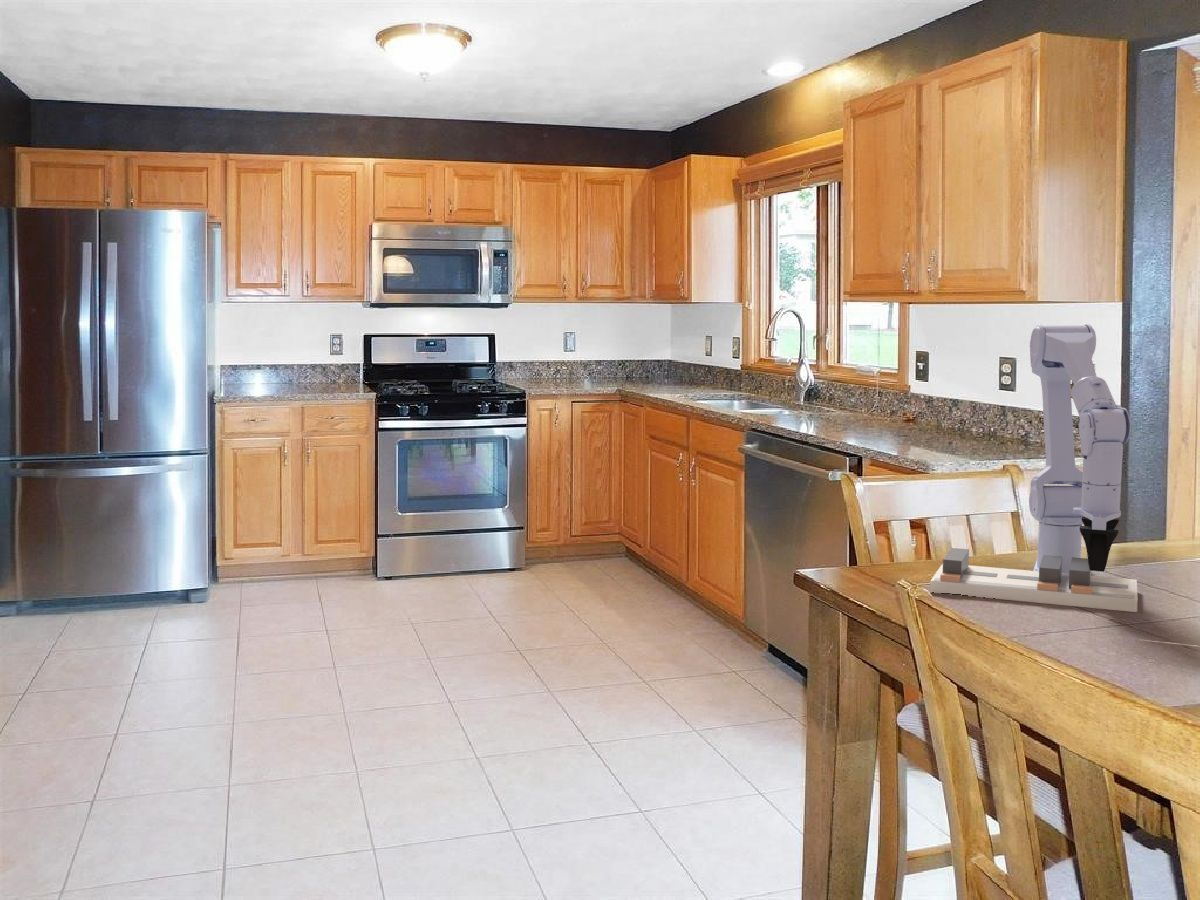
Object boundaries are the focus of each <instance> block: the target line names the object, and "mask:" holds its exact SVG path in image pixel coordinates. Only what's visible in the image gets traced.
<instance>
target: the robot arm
mask: <svg viewBox="0 0 1200 900" xmlns="http://www.w3.org/2000/svg"><path fill="white" fill-rule="evenodd" d="M1096 345H1097V335H1096V331H1095V329H1094V328H1093V326H1092V325H1090V324H1082V325H1079V324H1078V325H1072V324H1071V325H1069V324H1067V325H1043V324H1037V325H1035V327H1034V328H1033V329H1032V332H1031V335H1030V341H1029V354H1030V355H1029V356H1030V357H1029V358H1030V359H1029V361H1030V367H1031V373H1033V374H1034V375H1036V376H1038V377H1040V383H1041V384H1040V386H1041V392H1042V394H1041V395H1042V396H1041V397H1042V411H1043V412H1042V413H1043V415H1042V416H1043V428H1044V429H1043V431H1044V432H1043V433H1044V449H1045V451H1044V452H1045V454H1044V455H1045V467H1044V469H1042V470H1041V471H1039V472H1038V473H1037V474H1035V475H1034V476H1033V477H1032V479H1031V481H1030V491H1029V497H1028V504H1029V505H1028V506H1029V507H1028V508H1029V512H1030V515H1031V516H1032V517H1033V518H1034V519H1035V520H1036V521H1037V522H1038V532H1037V556H1036V557H1037V558H1036V561H1035V563H1034V567H1033V570H1032V571H1039V567H1040V564H1041V561H1042V558H1043V555H1049V556H1061V557H1062V573H1064V574H1069V570H1070V565H1071V560H1072V557H1074V558H1082V539H1083V541H1084V544H1085V549H1086V556H1087V559H1088V564H1089V568H1090V571H1091V572H1101V573H1102V572H1103V573H1104V572H1105V570H1106V567H1107V564H1108V559H1109V555H1110V551H1111V547H1112V545H1113V543H1114V541H1115V539H1116V537H1117V536H1118V534H1119V529H1116V527H1117V526H1118V524H1119V521H1120V517H1121V515H1122V511H1121V494H1122V493H1121V491H1122V474H1123V473H1122V469H1123V454H1124V453H1123V451H1124V445H1125V444H1127V443H1128V441H1129V439H1130V435H1131V430H1132V428H1131V426H1132V425H1131V424H1132V423H1131V417H1130V415H1129V412H1128V410H1127V408H1125V407H1122V406H1121V404H1117V403H1116V401H1115V399H1114V397H1113V395H1112V392H1111V390H1110V388H1109V386H1108V383H1107V381H1106V380H1105V379H1104V378H1102V377H1099V376H1097V373H1096V370H1095V365H1094V362H1093V356H1094V354H1095V352H1096V347H1097V346H1096ZM1071 382H1072V383H1073V386H1072V387H1071ZM1072 401H1073V403H1074V406H1075V409H1076V411H1077V414H1078V416H1079V422H1078V423H1079V424H1078V433H1079V436H1078V437H1079V439H1080V453H1081V454H1083V456H1082V457H1083V461H1082V470H1081V469H1079V468H1077V466H1076V462H1075V461H1076V460H1075V443H1074V442H1075V440H1074V426H1073V424H1074V421H1073V406H1072Z"/></svg>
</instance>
